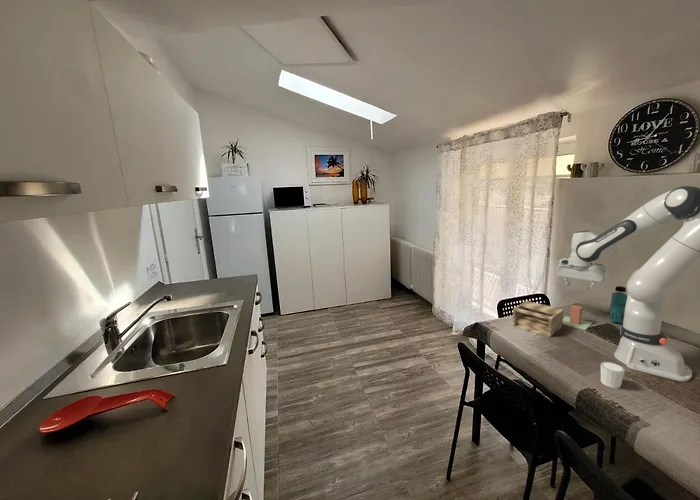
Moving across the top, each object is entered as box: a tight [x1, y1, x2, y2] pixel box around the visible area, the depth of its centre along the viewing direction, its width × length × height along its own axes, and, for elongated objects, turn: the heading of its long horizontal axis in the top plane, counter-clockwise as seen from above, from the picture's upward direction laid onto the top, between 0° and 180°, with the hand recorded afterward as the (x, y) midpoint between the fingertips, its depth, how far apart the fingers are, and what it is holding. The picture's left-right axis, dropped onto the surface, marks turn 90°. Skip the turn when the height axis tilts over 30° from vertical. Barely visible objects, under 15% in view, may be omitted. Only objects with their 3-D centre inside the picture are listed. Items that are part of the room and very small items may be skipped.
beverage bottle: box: [608, 285, 628, 323], centre depth 157 cm, size 6×7×20 cm
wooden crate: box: [512, 300, 564, 338], centre depth 159 cm, size 18×16×10 cm
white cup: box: [600, 361, 626, 389], centre depth 112 cm, size 7×7×7 cm
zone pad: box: [562, 315, 593, 331], centre depth 161 cm, size 12×12×1 cm
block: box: [569, 304, 584, 325], centre depth 160 cm, size 4×4×9 cm
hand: (578, 287), depth 157 cm, fingers open, 8 cm apart
